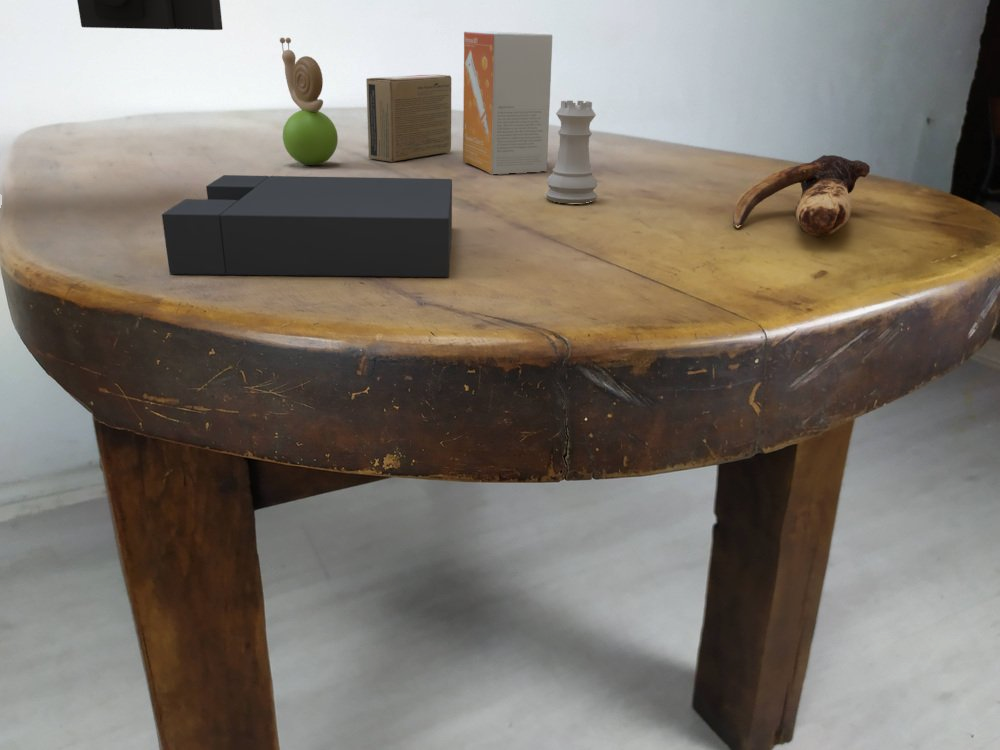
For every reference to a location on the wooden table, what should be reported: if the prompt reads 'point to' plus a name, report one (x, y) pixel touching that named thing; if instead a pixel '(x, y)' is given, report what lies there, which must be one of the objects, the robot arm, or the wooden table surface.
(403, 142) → the ink box
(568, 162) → the rook chess piece
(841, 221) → the lashed bone hook
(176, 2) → the black stepped block
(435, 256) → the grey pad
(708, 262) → the wooden table surface
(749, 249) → the wooden table surface
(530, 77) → the small box
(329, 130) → the snail figurine
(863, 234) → the wooden table surface
